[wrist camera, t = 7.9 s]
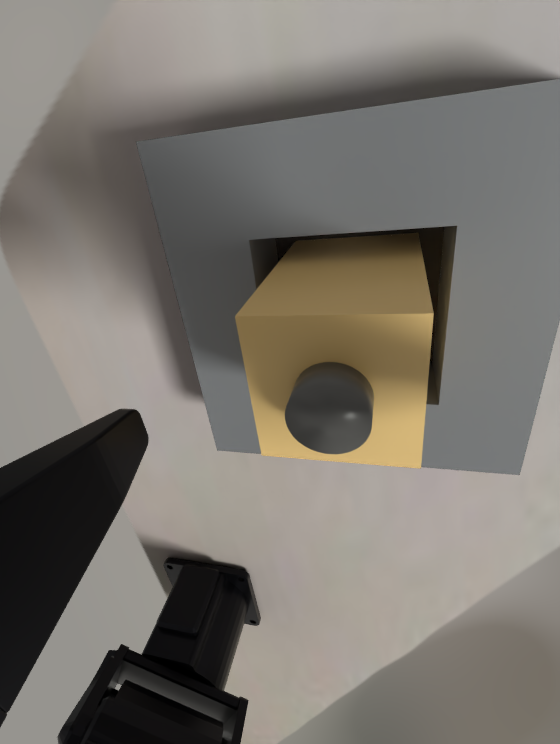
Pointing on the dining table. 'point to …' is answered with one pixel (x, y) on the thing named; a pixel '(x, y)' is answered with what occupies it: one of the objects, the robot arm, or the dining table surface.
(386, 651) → the dining table surface
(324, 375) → the plug
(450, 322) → the socket
